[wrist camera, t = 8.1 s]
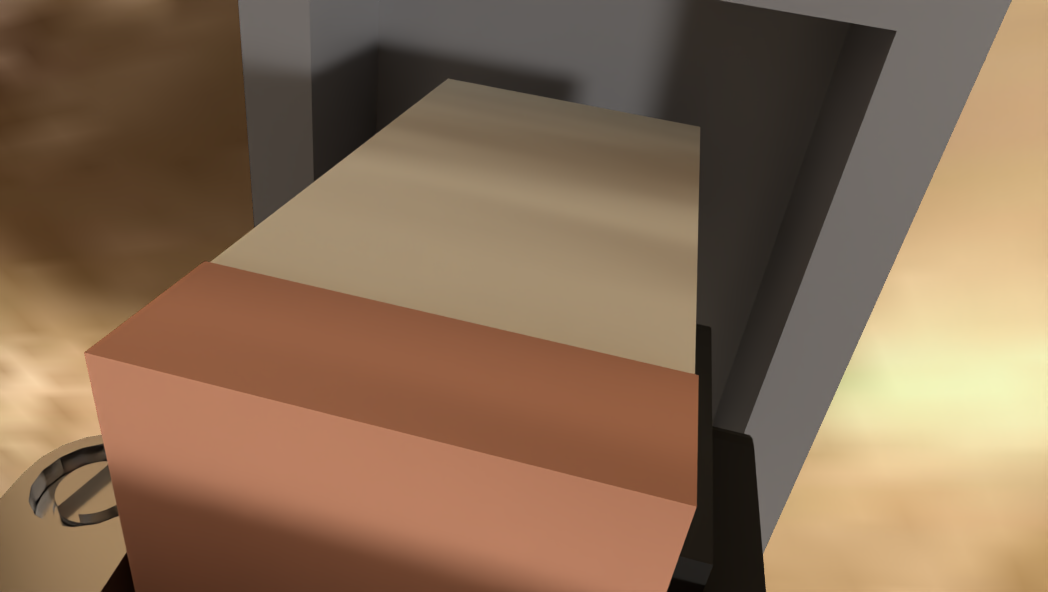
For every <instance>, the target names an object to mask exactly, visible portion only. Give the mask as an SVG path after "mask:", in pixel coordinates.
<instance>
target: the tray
mask: <svg viewBox="0 0 1048 592" xmlns="http://www.w3.org/2000/svg"><path fill="white" fill-rule="evenodd" d="M1011 1H1012V0H238V5H239V19H240V33H241V48H242V62H243V76H244V90H245V104H246V118H247V132H248V146H249V160H250V174H251V188H252V202H253V216H254V228H255V227H256V226H257V225H259V224H260V223H261V222H263V221H264V220H265V219H266V218H268V217H269V216H270V215H272V214H273V213H274V212H276V211H277V210H278V209H279V208H281V207H282V206H283V205H285V204H286V203H287V202H289V201H290V200H291V199H292V198H294V197H295V196H296V195H298V194H299V193H300V192H302V191H303V190H304V189H305V188H307V187H308V186H309V185H311V184H312V183H313V182H314V181H316V180H317V179H318V178H320V177H321V176H322V175H324V174H325V173H326V172H327V171H329V170H330V169H331V168H333V167H334V166H335V165H337V164H338V163H339V162H340V161H342V160H343V159H344V158H346V157H347V156H348V155H350V154H351V153H352V152H353V151H355V150H356V149H357V148H359V147H360V146H361V145H362V144H364V143H365V142H366V141H368V140H369V139H370V138H372V137H373V136H374V135H375V134H377V133H378V132H379V131H381V130H382V129H383V128H385V127H386V126H387V125H388V124H390V123H391V122H392V121H394V120H395V119H396V118H398V117H399V116H400V115H401V114H403V113H404V112H405V111H407V110H408V109H409V108H411V107H412V106H413V105H414V104H416V103H417V102H418V101H420V100H421V99H422V98H423V97H425V96H426V95H427V94H429V93H430V92H431V91H433V90H434V89H435V88H436V87H438V86H439V85H440V84H442V83H443V82H444V81H446V80H447V79H453V80H459V81H464V82H469V83H474V84H479V85H485V86H490V87H495V88H500V89H505V90H511V91H516V92H521V93H526V94H531V95H537V96H542V97H547V98H552V99H558V100H563V101H568V102H573V103H578V104H584V105H589V106H594V107H599V108H604V109H610V110H615V111H620V112H625V113H630V114H636V115H641V116H646V117H651V118H656V119H662V120H667V121H672V122H677V123H683V124H688V125H693V126H698V127H700V163H699V209H698V255H697V301H696V324H701V325H705V326H710V327H711V338H712V426H714V427H718V428H722V429H727V430H731V431H735V432H739V433H743V434H747V435H750V436H751V437H752V439H753V443H754V451H755V463H756V476H757V488H758V501H759V513H760V525H761V538H762V550H763V553H764V550H765V548H766V546H767V544H768V542H769V539H770V537H771V535H772V533H773V530H774V528H775V526H776V524H777V522H778V519H779V517H780V515H781V513H782V510H783V508H784V506H785V504H786V501H787V499H788V497H789V495H790V493H791V490H792V488H793V486H794V484H795V481H796V479H797V477H798V475H799V473H800V470H801V468H802V466H803V464H804V461H805V459H806V457H807V455H808V453H809V450H810V448H811V446H812V444H813V441H814V439H815V437H816V435H817V432H818V430H819V428H820V426H821V424H822V421H823V419H824V417H825V415H826V412H827V410H828V408H829V406H830V404H831V401H832V399H833V397H834V395H835V392H836V390H837V388H838V386H839V384H840V381H841V379H842V377H843V375H844V372H845V370H846V368H847V366H848V363H849V361H850V359H851V357H852V355H853V352H854V350H855V348H856V346H857V343H858V341H859V339H860V337H861V335H862V332H863V330H864V328H865V326H866V323H867V321H868V319H869V317H870V315H871V312H872V310H873V308H874V306H875V303H876V301H877V299H878V297H879V294H880V292H881V290H882V288H883V286H884V283H885V281H886V279H887V277H888V274H889V272H890V270H891V268H892V266H893V263H894V261H895V259H896V257H897V254H898V252H899V250H900V248H901V246H902V243H903V241H904V239H905V237H906V234H907V232H908V230H909V228H910V225H911V223H912V221H913V219H914V217H915V214H916V212H917V210H918V208H919V205H920V203H921V201H922V199H923V197H924V194H925V192H926V190H927V188H928V185H929V183H930V181H931V179H932V177H933V174H934V172H935V170H936V168H937V165H938V163H939V161H940V159H941V156H942V154H943V152H944V150H945V148H946V145H947V143H948V141H949V139H950V136H951V134H952V132H953V130H954V128H955V125H956V123H957V121H958V119H959V116H960V114H961V112H962V110H963V108H964V105H965V103H966V101H967V99H968V96H969V94H970V92H971V90H972V87H973V85H974V83H975V81H976V79H977V76H978V74H979V72H980V70H981V67H982V65H983V63H984V61H985V59H986V56H987V54H988V52H989V50H990V47H991V45H992V43H993V41H994V39H995V36H996V34H997V32H998V30H999V27H1000V25H1001V23H1002V21H1003V19H1004V16H1005V14H1006V12H1007V10H1008V7H1009V5H1010V3H1011Z"/></svg>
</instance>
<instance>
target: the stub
mask: <svg viewBox="0 0 1048 592" xmlns="http://www.w3.org/2000/svg"><path fill="white" fill-rule="evenodd" d="M699 163H700V127H698V126H693V125H688V124H683V123H677V122H672V121H667V120H662V119H656V118H651V117H646V116H641V115H636V114H630V113H625V112H620V111H615V110H610V109H604V108H599V107H594V106H589V105H584V104H578V103H573V102H568V101H563V100H558V99H552V98H547V97H542V96H537V95H531V94H526V93H521V92H516V91H511V90H505V89H500V88H495V87H490V86H485V85H479V84H474V83H469V82H464V81H459V80H453V79H447V80H446V81H444V82H443V83H442V84H440V85H439V86H438V87H436V88H435V89H434V90H433V91H431V92H430V93H429V94H427V95H426V96H425V97H423V98H422V99H421V100H420V101H418V102H417V103H416V104H414V105H413V106H412V107H411V108H409V109H408V110H407V111H405V112H404V113H403V114H401V115H400V116H399V117H398V118H396V119H395V120H394V121H392V122H391V123H390V124H388V125H387V126H386V127H385V128H383V129H382V130H381V131H379V132H378V133H377V134H375V135H374V136H373V137H372V138H370V139H369V140H368V141H366V142H365V143H364V144H362V145H361V146H360V147H359V148H357V149H356V150H355V151H353V152H352V153H351V154H350V155H348V156H347V157H346V158H344V159H343V160H342V161H340V162H339V163H338V164H337V165H335V166H334V167H333V168H331V169H330V170H329V171H327V172H326V173H325V174H324V175H322V176H321V177H320V178H318V179H317V180H316V181H314V182H313V183H312V184H311V185H309V186H308V187H307V188H305V189H304V190H303V191H302V192H300V193H299V194H298V195H296V196H295V197H294V198H292V199H291V200H290V201H289V202H287V203H286V204H285V205H283V206H282V207H281V208H279V209H278V210H277V211H276V212H274V213H273V214H272V215H270V216H269V217H268V218H266V219H265V220H264V221H263V222H261V223H260V224H259V225H257V226H256V227H255V228H253V229H252V230H251V231H250V232H248V233H247V234H246V235H244V236H243V237H242V238H241V239H239V240H238V241H237V242H235V243H234V244H233V245H231V246H230V247H229V248H228V249H226V250H225V251H224V252H222V253H221V254H220V255H218V256H217V257H216V258H215V259H213V260H212V261H211V262H207V261H204V262H203V263H201V264H200V265H199V266H197V267H196V268H195V269H193V270H192V271H191V272H189V273H188V274H187V275H185V276H184V277H183V278H182V279H180V280H179V281H178V282H176V283H175V284H174V285H172V286H171V287H170V288H168V289H167V290H166V291H164V292H163V293H162V294H160V295H159V296H158V297H157V298H155V299H154V300H153V301H151V302H150V303H149V304H147V305H146V306H145V307H143V308H142V309H141V310H139V311H138V312H137V313H135V314H134V315H133V316H132V317H130V318H129V319H128V320H126V321H125V322H124V323H122V324H121V325H120V326H118V327H117V328H116V329H114V330H113V331H112V332H110V333H109V334H108V335H107V336H105V337H104V338H103V339H101V340H100V341H99V342H97V343H96V344H95V345H93V346H92V347H91V348H89V349H88V350H87V351H85V352H84V354H85V359H86V364H87V368H88V373H89V378H90V382H91V387H92V392H93V396H94V401H95V406H96V410H97V415H98V420H99V424H100V429H101V434H102V439H103V443H104V448H105V453H106V457H107V462H108V467H109V471H110V476H111V481H112V485H113V490H114V495H115V499H116V504H117V509H118V513H119V518H120V523H121V527H122V532H123V537H124V542H125V546H126V551H127V556H128V560H129V565H130V570H131V574H132V579H133V584H134V588H135V592H667V589H668V587H669V584H670V581H671V578H672V575H673V572H674V570H675V567H676V564H677V561H678V558H679V555H680V553H681V550H682V547H683V544H684V541H685V538H686V536H687V533H688V530H689V527H690V524H691V522H692V519H693V516H694V513H695V510H696V507H697V453H698V383H699V375H696V374H695V347H696V301H697V255H698V209H699Z"/></svg>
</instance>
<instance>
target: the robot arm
mask: <svg viewBox="0 0 1048 592" xmlns="http://www.w3.org/2000/svg"><path fill="white" fill-rule="evenodd" d="M695 374H696V375H699V383H698V453H697V507H696V510H695V513H694V516H693V519H692V522H691V524H690V527H689V530H688V533H687V536H686V538H685V541H684V544H683V547H682V550H681V553H680V555H679V558H678V561H677V564H676V567H675V570H674V572H673V575H672V578H671V581H670V584H669V587H668V589H667V592H766V588H765V575H764V563H763V550H762V538H761V525H760V513H759V501H758V488H757V476H756V463H755V451H754V443H753V439H752V437H751V436H750V435H747V434H743V433H739V432H735V431H731V430H727V429H722V428H718V427H714V426H712V338H711V327H710V326H705V325H701V324H696V347H695ZM0 592H135V588H134V584H133V579H132V574H131V570H130V565H129V560H128V556H127V551H126V546H125V542H124V537H123V532H122V527H121V523H120V518H119V513H118V509H117V504H116V499H115V495H114V490H113V485H112V481H111V476H110V471H109V467H108V462H107V457H106V453H105V448H104V443H103V439H102V435H98V436H92V437H86V438H83V439H80V440H77V441H74V442H71V443H68V444H65V445H63V446H61V447H59V448H57V449H55V450H54V451H52V452H50V453H48V454H46V455H44V456H43V457H41V458H40V459H39V460H38V461H36V462H35V463H34V464H33V465H32V466H31V467H29V468H28V469H27V470H26V471H25V472H24V473H23V474H22V475H21V476H20V477H19V478H18V479H17V480H16V482H15V483H14V484H13V485H12V486H11V487H10V488H9V489H8V490H7V491H6V493H5V494H4V495H3V496H2V497H1V498H0Z"/></svg>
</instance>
